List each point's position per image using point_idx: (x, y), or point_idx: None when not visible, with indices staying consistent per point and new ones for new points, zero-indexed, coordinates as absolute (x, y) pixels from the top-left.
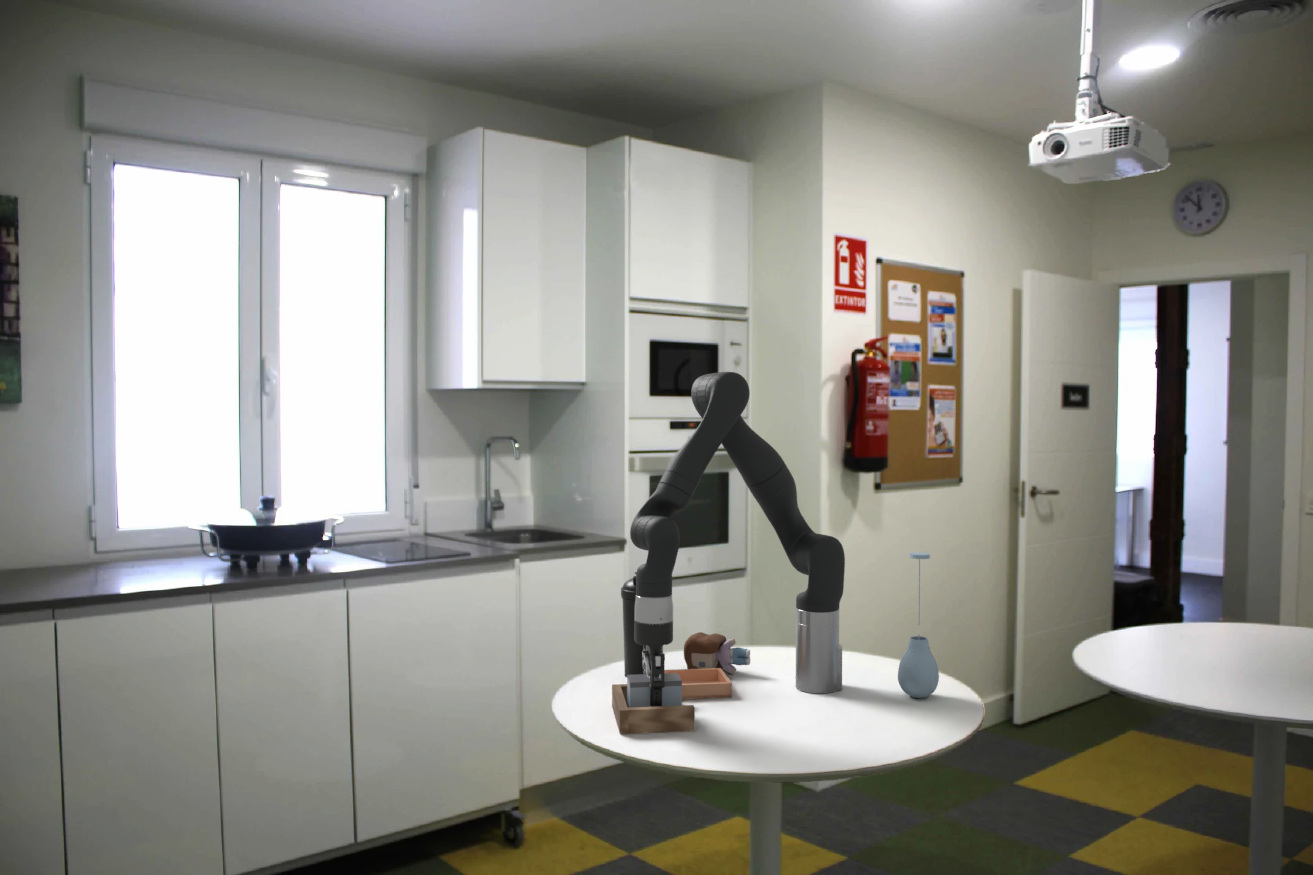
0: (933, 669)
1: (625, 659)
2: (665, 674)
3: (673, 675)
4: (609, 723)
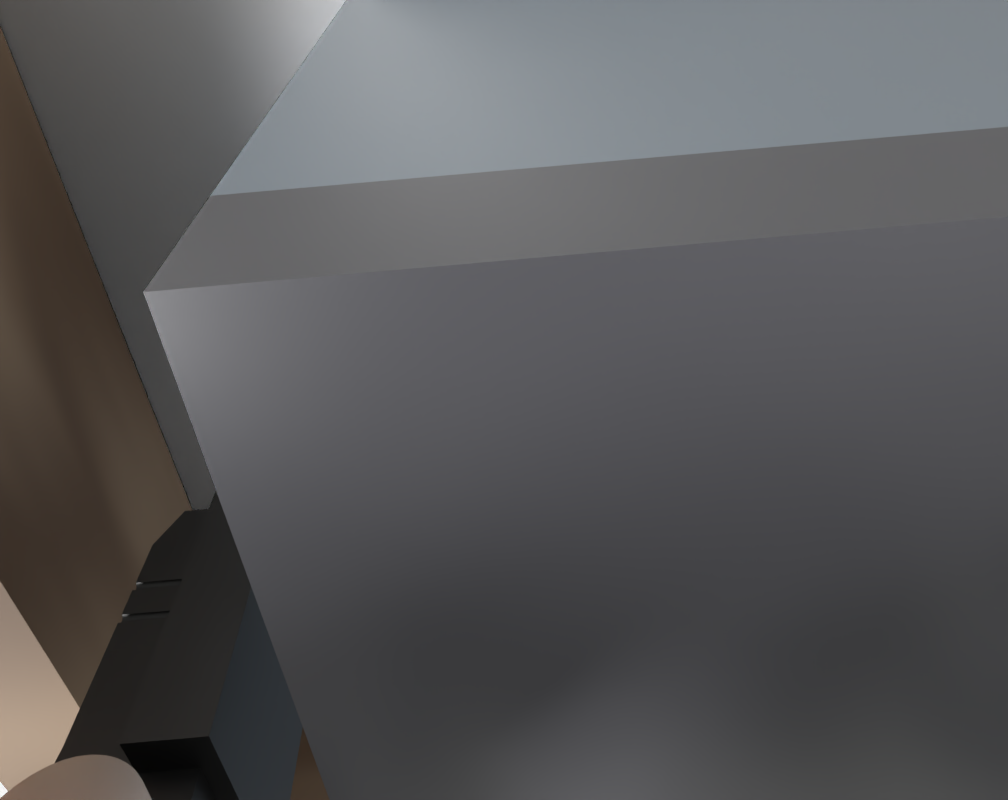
0: None
1: None
2: (416, 682)
3: (571, 465)
4: None
